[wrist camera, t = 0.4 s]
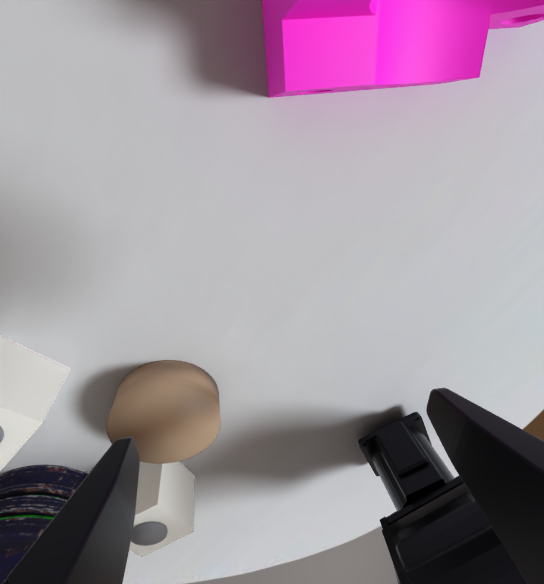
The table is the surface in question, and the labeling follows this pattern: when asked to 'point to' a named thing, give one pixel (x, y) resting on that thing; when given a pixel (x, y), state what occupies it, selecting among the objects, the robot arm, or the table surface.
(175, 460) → the beige rounded disc
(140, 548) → the marked cube
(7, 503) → the storage jar
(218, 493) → the table surface
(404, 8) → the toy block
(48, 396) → the marked cube
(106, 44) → the table surface
